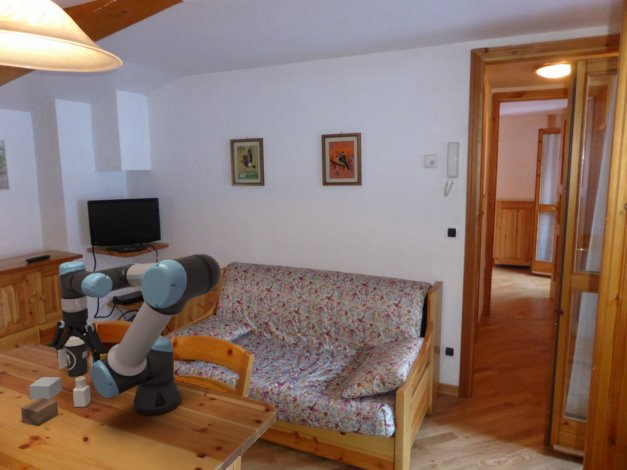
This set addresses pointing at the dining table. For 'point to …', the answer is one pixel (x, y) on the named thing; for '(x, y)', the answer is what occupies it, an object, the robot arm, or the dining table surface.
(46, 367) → the dining table surface
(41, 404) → the walnut block
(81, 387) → the pepper shaker
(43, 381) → the grey-blue block
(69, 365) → the coffee cup
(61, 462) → the dining table surface
